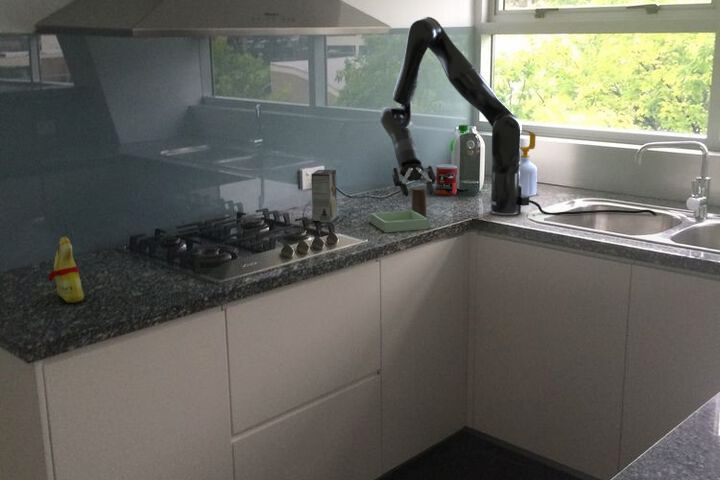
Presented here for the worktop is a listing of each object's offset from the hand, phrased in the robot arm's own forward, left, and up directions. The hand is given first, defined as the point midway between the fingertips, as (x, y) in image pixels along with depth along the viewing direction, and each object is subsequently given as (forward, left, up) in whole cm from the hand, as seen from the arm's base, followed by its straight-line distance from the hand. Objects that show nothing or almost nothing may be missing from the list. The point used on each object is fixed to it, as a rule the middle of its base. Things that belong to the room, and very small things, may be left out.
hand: (419, 194), depth 274 cm
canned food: (-25, -35, -8) cm, 44 cm away
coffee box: (+30, -9, -8) cm, 32 cm away
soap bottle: (-52, -24, -8) cm, 58 cm away
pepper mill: (0, 0, -8) cm, 8 cm away
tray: (+10, +8, -8) cm, 15 cm away
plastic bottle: (-35, -42, -8) cm, 55 cm away
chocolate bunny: (+110, +52, -8) cm, 122 cm away
